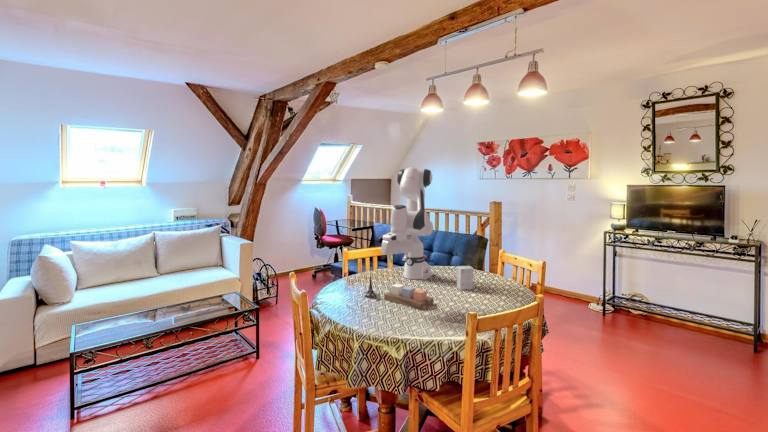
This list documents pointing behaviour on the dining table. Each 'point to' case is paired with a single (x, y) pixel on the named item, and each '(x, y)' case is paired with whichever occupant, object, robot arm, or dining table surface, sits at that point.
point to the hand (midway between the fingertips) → (397, 261)
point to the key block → (408, 301)
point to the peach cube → (420, 295)
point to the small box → (465, 277)
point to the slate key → (408, 292)
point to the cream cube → (396, 289)
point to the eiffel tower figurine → (372, 293)
